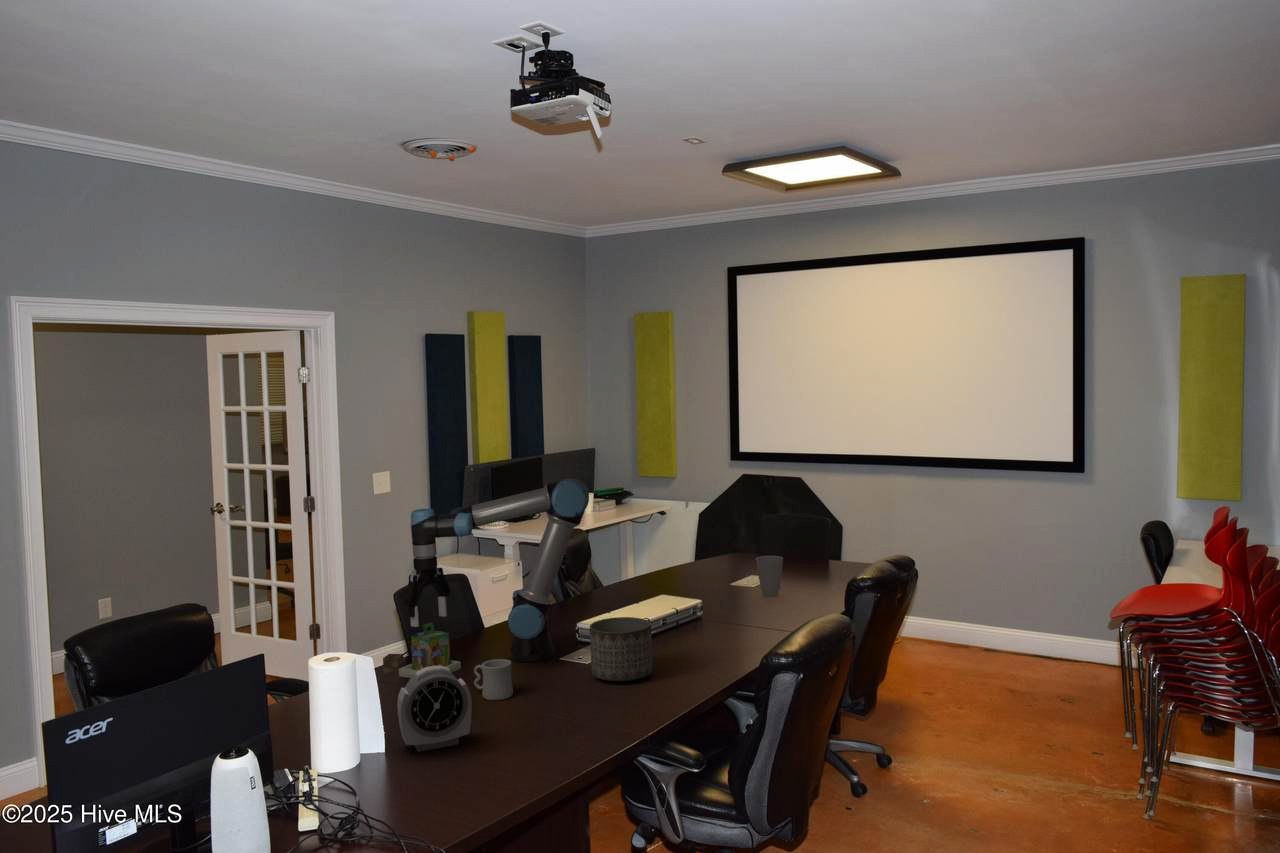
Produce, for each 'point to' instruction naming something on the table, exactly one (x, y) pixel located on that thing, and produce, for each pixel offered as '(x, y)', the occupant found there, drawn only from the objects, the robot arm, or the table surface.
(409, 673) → the tray
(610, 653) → the planter
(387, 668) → the walnut block
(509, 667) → the mug
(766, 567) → the cup
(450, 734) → the alarm clock
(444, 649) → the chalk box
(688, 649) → the table surface
